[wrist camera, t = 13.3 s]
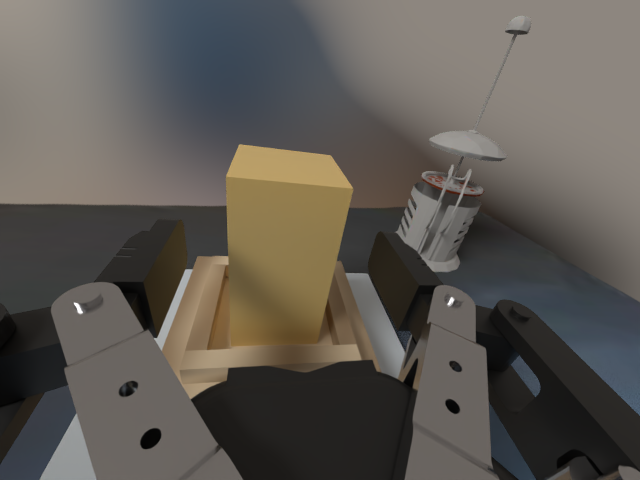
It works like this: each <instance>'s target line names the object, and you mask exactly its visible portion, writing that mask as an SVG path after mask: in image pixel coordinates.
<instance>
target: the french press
mask: <svg viewBox="0 0 640 480" xmlns="http://www.w3.org/2000/svg"><path fill="white" fill-rule="evenodd" d="M530 26H531V19H530V18H529V17H526V16H517V17H516V18H514V19H513V20H512V21H510V23H509V24H508V26H507V28H506V31H505V32H507V33H510V34H514V36H513V38H512V41H511V43H510V45H509V48H508V50H507V52H506V54H505V57H504V59H503V61H502V64H501V66H500V68H499V71H498V73H497V76H496V78H495V80H494V82H493V85H492V87H491V90H490V92H489V94H488V97H487V99H486V101H485V104H484V106H483V108H482V111H481V113H480V116H479V118H478V120H477V122H476V125H475V127H474V129H473V130H468V131H451V132H444V133H440V134H438V135H436V136H434V137H432V138H429V142H430V145H432V146H434V147H436V148H438V149H441V150H443V151H447V152H449V153H453V154H457V155H460V156H462V157H461V160H460V162H459V164H458V167H457V169H456V172H455V174H454V175H452V172H453V169H454V165H451V168H450V170H449V172H448V173H449V174H446V173H445V174H444V173H443V174H442V173H441V172H436V173H435V172H434V171H430V172H429V171H427V172H424V173H422V174H421V177H422V180H423V181H424V182H419V183H417V184H415V185H414V187H413V190H412V192H411V194H412V196H413V199H414V201H412V200H411V199H409V201H408V205H409V207H410V210H409V209H408V208H407V207H406V209H405V215H406V217H404V216H403V218H402V224H403V225H401V224H400V226H399V229H398V231H397V232H396V233H397V234H398V235H399V236H400V237H401V239H402V240H403V241H404V242H405V244H408V245H409V246H410V247H412V248H413V249H415V250H416V251H417V252H418V254H419V255H420V256H421V257H422V260H424V261H425V262H426V263H427V266H429V267H430V268H431V270H432V271H434V272H450V271H452V270H455V269H457V268H458V266H459V264H460V261H459V258H458V255H457V253H456V252H457V250H458V248H459V247H460V243H461V242H462V241H463V239H464V235H465V234H466V233H467V231H468V229H469V227H467V226H469V225H470V224H471V223H472V221H473V219H474V218H471V217H472V216H474V215H475V214H477V212H478V210H479V207H480V205H481V203H480V201H479V200H478V199H477V198H475V196H480V195H482V194H483V193H484V190H483V189H482V187H480V186H479V185H477V184H476V183H474V182H471V181H470V182H469V178H470V175H471V171H472V170H471V169H469V170H468V172H467V174H466V176H465V177H464V178H462V177H461V178H459V177H457V176H456V174H457V171H458V170H459V167H460V165H461V163H462V160H463V158H464V157H469V158H473V159H479V160H487V161H502V160H504V159H506V158H507V155H506V154H505V152H504V151H503V150H502V149H501V147H500V145H498V144H497V143H496V142H494V141H493V140H492V139H490V138H488V137H486V136H483V135H481V134H479V132H478V131H477V130H476V128H477V126H478V123H479V121H480V119H481V117H482V114H483V112H484V110H485V107H486V105H487V103H488V100H489V98H490V96H491V94H492V91H493V89H494V87H495V84H496V82H497V80H498V77H499V75H500V73H501V70H502V68H503V66H504V64H505V61H506V59H507V57H508V54H509V52H510V50H511V47H512V45H513V43H514V40H515V38H516V36H517V34H518V35H519V34H520V35H521V34H527V33H528V32H529V30H530ZM413 206H415V207H417V208H416V210H415V209H414V207H413ZM409 214H410V215H413V218H410V216H409ZM405 222H408V223H409V225H410V226H407V225H406V223H405ZM464 222H468V223H466V224H464V225H463V223H464ZM459 231H464V232H462V233H461V234H459V235H458V233H459ZM457 239H459V240H460V241H458V242H456V243H454V241H455V240H457Z"/></svg>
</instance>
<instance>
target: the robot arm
mask: <svg viewBox="0 0 640 480" xmlns="http://www.w3.org/2000/svg"><path fill="white" fill-rule="evenodd" d="M186 265H187V248H186V241H185V233H184V225H183V222H182V220H175V219H158V220H157V221H156V223H155V224H154V225H153V227H152V228H151V230H150V231H141V232H139V233H138V234H136V235H134V236H133V237H131V238H129V239H128V241H127V242H126V243H125V244H124V246H123V247H122V249H120V251H119V252H118V253H117V254H116V257H114V258H113V259H112V260H111V262H110V263H109V264H108V265H107V267H106V268H105V269H104V270H103V271H102V273H101V274H100V275H99V276H98V278H97V279H96V280H95V281H94V283H89V284H85V285H81V286H78V287H76V288H73V289H71V290H69V291H67V292H66V293H64V294H63V295H61V296H60V297H59V298H58V299H57V300H56V301H55V302H54V303H53V305H52V307H47V308H42V309H37V310H32V311H27V312H22V313H17V314H11V315H10V314H9V313H8V311H7V310H6V308H5V307H4V305H2V304H1V303H0V464H1V462H2V460H3V459H4V457H5V456H6V454H7V452H8V451H9V449H10V448H11V446H12V444H13V443H14V441H15V439H16V438H17V436H18V435H19V433H20V431H21V430H22V428H23V427H24V425H25V423H26V422H27V420H28V418H29V417H30V415H31V414H32V412H33V410H34V409H35V407H36V406H37V404H38V402H39V401H40V399H41V397H42V396H43V394H44V393H45V392H47V391H50V390H53V389H56V388H60V387H63V386H66V385H69V389H70V392H71V395H72V399H73V402H74V406H75V409H76V412H77V416H78V419H79V423H80V426H81V429H82V433H83V436H84V439H85V443H86V446H87V450H88V453H89V456H90V460H91V463H92V467H93V470H94V473H95V477H96V480H518V479H517V478H516V477H515V476H514V475H512V474H511V473H510V472H509V471H508V470H507V469H505V468H504V467H503V466H502V465H501V464H500V463H498V462H497V461H496V460H495V459H494V458H493V457H491V443H490V421H489V402H490V404H491V406H492V407H493V409H494V411H495V412H496V414H497V415H498V417H499V419H500V420H501V422H502V424H503V425H504V427H505V429H506V430H507V432H508V434H509V435H510V437H511V438H512V440H513V442H514V443H515V445H516V447H517V448H518V450H519V452H520V453H521V455H522V457H523V458H524V460H525V461H526V463H527V465H528V466H529V468H530V470H531V471H532V473H533V475H534V476H535V478H536V480H640V416H639V415H638V414H637V413H636V412H635V411H634V410H633V409H632V408H631V407H630V406H629V405H628V404H627V403H626V402H625V401H624V400H623V399H622V398H621V397H620V396H619V395H618V394H617V393H616V392H615V391H614V390H613V389H612V388H611V387H610V386H609V385H608V384H607V383H606V382H604V381H603V380H602V379H601V378H600V377H599V376H598V375H597V374H596V373H595V372H594V371H593V370H592V369H591V368H590V367H589V366H588V365H587V364H586V363H585V362H584V361H583V360H582V359H581V358H580V357H579V356H578V355H577V354H576V353H575V352H574V351H573V350H572V349H571V348H570V347H569V346H568V345H567V344H566V343H565V342H564V341H563V340H562V339H561V338H560V337H559V336H558V335H557V334H556V333H555V332H554V331H552V330H551V329H550V328H549V327H548V326H547V325H546V324H545V323H544V322H543V321H542V320H541V319H540V318H539V317H538V316H537V315H536V314H535V313H534V312H533V311H531V310H530V309H528V308H527V307H525V306H523V305H521V304H519V303H517V302H514V301H511V300H500V301H499V302H498V303H497V304H496V306H495V307H494V309H490V308H485V307H481V306H477V305H475V303H474V302H473V300H472V299H471V298H470V297H469V296H468V295H467V294H466V293H464V292H463V291H461V290H459V289H457V288H454V287H452V286H447V285H443V283H442V282H441V281H440V280H439V278H438V277H437V276H436V275H435V273H434V272H433V271H432V270H431V268H430V267H429V266H427V263H426V262H425V261H424V260H422V257H421V256H420V255H419V254H418V252H417V251H416V250H415V249H413V248H412V247H410V246H409V245H408V244H405V242H404V241H403V240H402V239H401V237H400V236H399V235H398V234H397V233H396V232H379V233H378V234H377V236H376V239H375V242H374V245H373V248H372V251H371V255H370V258H369V262H368V269H369V273H370V275H371V277H372V279H373V281H374V283H375V286H376V288H377V290H378V292H379V294H380V296H381V298H382V300H383V302H384V304H385V306H386V308H387V310H388V312H389V314H390V316H391V318H392V320H393V322H394V324H395V326H396V328H397V330H398V331H410V332H411V334H412V335H411V337H410V339H409V341H408V345H407V348H406V352H405V355H404V359H403V362H402V366H401V369H400V373H399V376H398V379H397V378H395V377H392V376H390V375H388V374H385V373H382V372H378V371H376V368H375V365H374V362H373V360H357V361H340V362H337V363H334V364H331V365H328V366H325V367H322V368H319V369H316V370H313V371H310V372H298V371H293V370H288V369H282V368H277V367H272V366H252V367H235V368H228V374H227V380H226V381H223V382H220V383H218V384H216V385H213V386H211V387H209V388H207V389H205V390H204V391H202V392H200V393H199V394H197V395H196V396H194V397H193V398H191V399H190V398H189V396H188V394H187V393H186V391H185V389H184V388H183V386H182V384H181V383H180V381H179V379H178V378H177V376H176V374H175V373H174V371H173V369H172V368H171V366H170V364H169V363H168V361H167V359H166V358H165V356H164V354H163V353H162V351H161V349H160V348H159V346H158V344H157V343H156V341H155V339H154V338H157V337H158V335H159V333H160V330H161V328H162V325H163V323H164V320H165V318H166V316H167V313H168V311H169V308H170V306H171V303H172V301H173V298H174V296H175V294H176V291H177V289H178V286H179V284H180V281H181V279H182V277H183V274H184V272H185V269H186ZM519 355H520V356H521V358H522V359H523V360H524V361H525V363H526V364H527V365H528V366H529V367H530V369H531V370H532V371H533V372H534V374H535V375H536V376H537V378H538V379H539V382H540V386H541V390H540V393H539V394H538V395H537V396H536V397H535V396H534V395H533V394H532V392H531V391H530V390H529V388H528V387H527V386H526V385H525V383H524V382H523V381H522V379H521V378H520V377H519V375H518V374H517V373H516V371H515V370H514V369H513V367H512V366H511V364H512V363H513V362H514V360H515V359H516V358H517V357H518V356H519Z"/></svg>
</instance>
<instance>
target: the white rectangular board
mask: <svg viewBox="0 0 640 480" xmlns="http://www.w3.org/2000/svg"><path fill="white" fill-rule="evenodd" d="M191 273H192V270H187V269H185V272H184V274H183V277H182V279H181V281H180V284H179V286H178V289H177V291H176V294H175V296H174V298H173V301H172V303H171V306H170V308H169V311H168V313H167V316H166V318H165V320H164V323H163V325H162V328H161V330H160V333H159V335H158V337H157V338H154V339H155V341H156V343H157V344H158V346H159V348H160V349H161V351H162V348H163V346H164V343H165V341H166V338H167V335H168V333H169V330H170V328H171V325H172V322H173V320H174V317H175V315H176V312H177V309H178V307H179V304H180V301H181V299H182V296H183V294H184V291H185V288H186V286H187V283H188V281H189V278H190V275H191ZM345 274H346V276H347V279H348V282H349V285H350V287H351V290H352V293H353V295H354V298H355V301H356V304H357V306H358V309H359V312H360V315H361V317H362V320H363V323H364V326H365V328H366V331H367V334H368V337H369V339H370V342H371V345H372V348H373V350H374V353H375V356H376V358H377V361H378V364H379V367H380V369H381V372H382V373H385V374H388V375H390V376H392V377H395V378H397V379H398V376H399V373H400V369H401V366H402V362H403V359H404V355H405V352H404V350H403V348H402V345H401V343H400V341H399V339H398V337H397V335H396V333H395V331H394V329H393V326H392V324H391V322H390V320H389V318H388V316H387V314H386V312H385V309H384V307H383V305H382V303H381V301H380V299H379V297H378V295H377V292H376V290H375V288H374V286H373V284H372V282H371V280H370V278H369V276H368V274H364V273H345ZM39 480H96V477H95V473H94V470H93V467H92V463H91V460H90V456H89V453H88V450H87V446H86V443H85V439H84V436H83V433H82V429H81V426H80V423H79V419H78V416H77V413H76V415H75V417H74V419H73V421H72V422H71V424H70V426H69V428H68V430H67V431H66V433H65V435H64V437H63V438H62V440H61V442H60V444H59V446H58V447H57V449H56V451H55V453H54V455H53V456H52V458H51V460H50V462H49V463H48V465H47V467H46V469H45V471H44V472H43V474H42V476H41V478H40V479H39Z"/></svg>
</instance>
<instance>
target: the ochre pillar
mask: <svg viewBox="0 0 640 480" xmlns="http://www.w3.org/2000/svg"><path fill="white" fill-rule="evenodd" d="M226 189H227V190H226V192H227V193H226V194H227V228H228V263H229V297H230V332H231V346H261V345H291V344H317V342H318V338H319V333H320V329H321V325H322V320H323V316H324V312H325V308H326V303H327V299H328V295H329V291H330V286H331V282H332V278H333V273H334V269H335V265H336V261H337V256H338V252H339V248H340V244H341V239H342V235H343V231H344V226H345V222H346V218H347V214H348V209H349V205H350V201H351V196H352V192H353V188H352V186H351V185H350V183H349V182H348V180H347V179H346V177H345V176H344V174H343V173H342V171H341V170H340V168H339V167H338V165H337V164H336V163H335V161H334V160H333V158H332V157H331V155H322V154H314V153H305V152H298V151H289V150H281V149H273V148H265V147H256V146H248V145H239V146H238V149H237V151H236V154H235V156H234V159H233V161H232V163H231V166H230V168H229V171H228V173H227V176H226Z"/></svg>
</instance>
